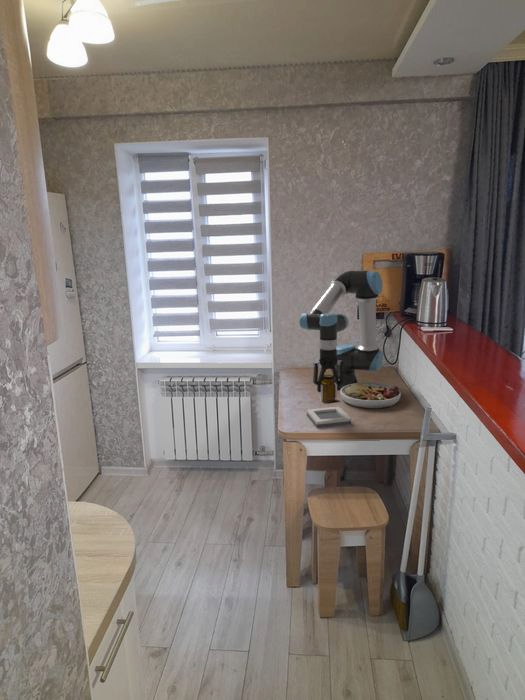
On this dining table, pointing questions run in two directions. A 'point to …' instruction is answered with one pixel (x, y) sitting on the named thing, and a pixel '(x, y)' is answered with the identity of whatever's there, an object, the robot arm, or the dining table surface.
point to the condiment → (329, 390)
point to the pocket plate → (328, 417)
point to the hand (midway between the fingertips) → (328, 397)
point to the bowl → (370, 395)
